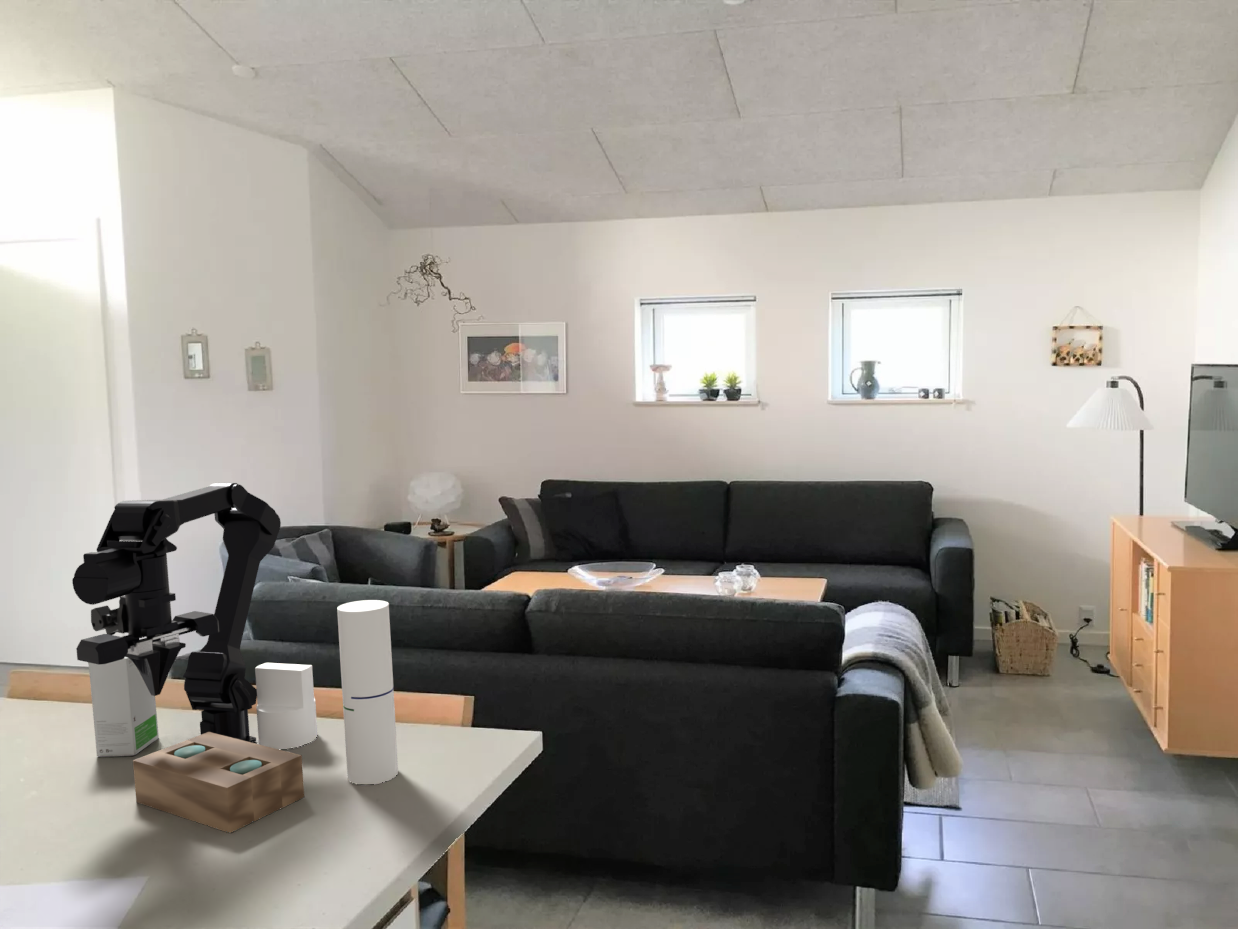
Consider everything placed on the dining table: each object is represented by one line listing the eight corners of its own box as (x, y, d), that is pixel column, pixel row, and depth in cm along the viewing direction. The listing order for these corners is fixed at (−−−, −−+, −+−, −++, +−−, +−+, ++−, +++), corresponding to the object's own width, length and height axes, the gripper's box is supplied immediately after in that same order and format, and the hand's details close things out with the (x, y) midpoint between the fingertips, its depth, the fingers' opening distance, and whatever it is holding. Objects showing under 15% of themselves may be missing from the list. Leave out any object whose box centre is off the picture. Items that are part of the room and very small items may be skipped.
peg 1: (196, 781, 143) (193, 743, 142) (214, 787, 141) (211, 748, 140) (171, 792, 139) (168, 753, 139) (189, 797, 137) (186, 758, 137)
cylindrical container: (385, 786, 139) (375, 612, 137) (338, 783, 141) (327, 611, 139) (406, 766, 146) (396, 600, 144) (361, 764, 148) (351, 599, 146)
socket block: (211, 770, 147) (208, 731, 147) (304, 797, 137) (301, 755, 136) (136, 802, 137) (132, 760, 136) (230, 833, 127) (226, 787, 126)
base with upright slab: (328, 731, 162) (324, 659, 161) (296, 752, 154) (291, 676, 152) (281, 727, 165) (276, 657, 164) (246, 747, 156) (241, 673, 155)
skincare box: (134, 757, 154) (126, 659, 152) (92, 758, 154) (84, 660, 153) (160, 737, 162) (153, 644, 161) (120, 738, 162) (113, 645, 161)
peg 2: (251, 798, 136) (248, 758, 136) (270, 803, 134) (268, 763, 134) (226, 809, 133) (223, 768, 133) (246, 815, 131) (243, 773, 130)
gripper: (171, 571, 153) (178, 670, 154) (49, 596, 137) (59, 706, 139) (217, 577, 147) (225, 679, 149) (96, 604, 131) (105, 718, 133)
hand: (155, 694), depth 142 cm, fingers closed
